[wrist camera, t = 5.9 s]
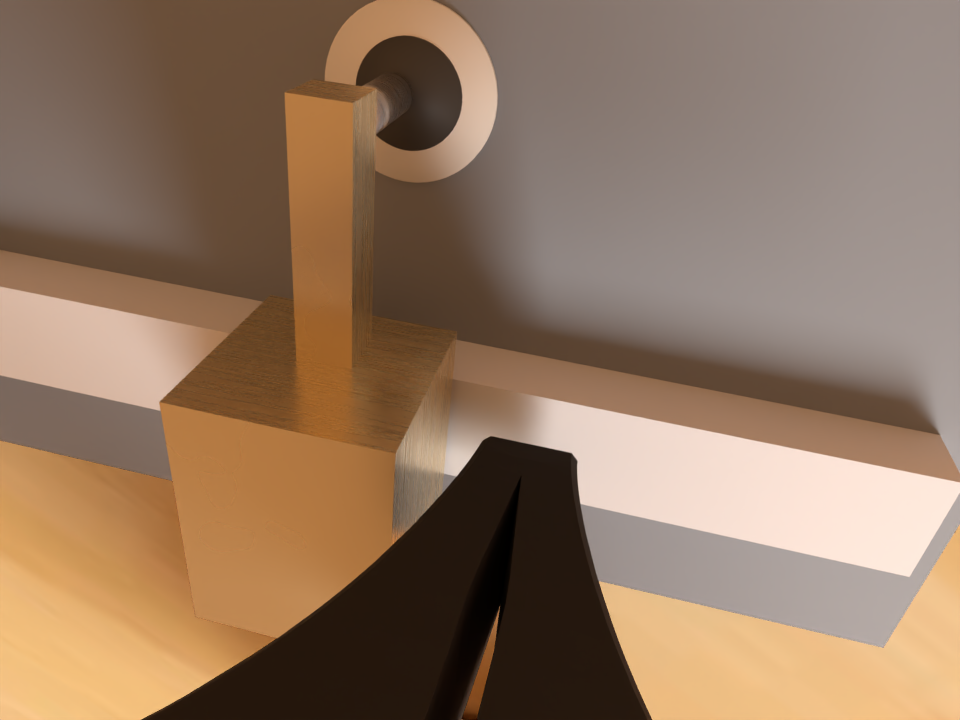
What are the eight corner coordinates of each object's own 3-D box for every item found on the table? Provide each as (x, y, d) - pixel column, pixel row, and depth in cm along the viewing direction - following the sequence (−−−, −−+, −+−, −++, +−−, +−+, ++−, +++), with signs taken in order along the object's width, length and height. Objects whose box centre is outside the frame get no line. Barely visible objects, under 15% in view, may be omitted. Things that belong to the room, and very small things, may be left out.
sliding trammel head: (455, 480, 14) (385, 666, 11) (308, 447, 15) (195, 616, 11) (498, 73, 10) (409, 157, 7) (294, 43, 11) (108, 107, 7)
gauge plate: (865, 588, 16) (953, 886, 11) (-49, 382, 18) (-299, 546, 14) (1229, -62, 9) (1836, -34, 4) (-261, -224, 12) (-872, -315, 7)
